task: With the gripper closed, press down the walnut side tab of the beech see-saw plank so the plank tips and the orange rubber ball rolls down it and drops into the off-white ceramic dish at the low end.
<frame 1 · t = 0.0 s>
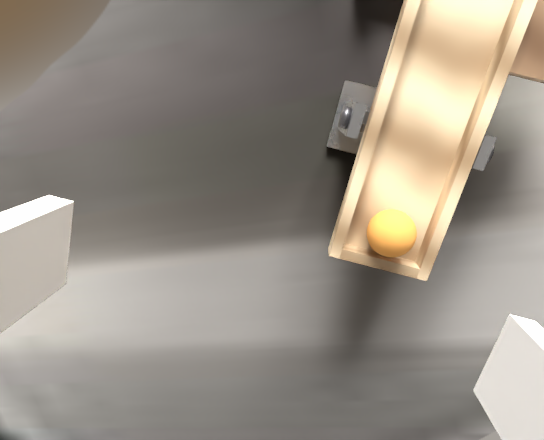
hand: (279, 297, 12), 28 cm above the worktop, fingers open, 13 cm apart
ball: (391, 233, 29), point 10 cm above the worktop, touching lever
stand: (393, 128, 37), on the worktop
lever: (463, 144, 28), point 9 cm above the worktop, hinge at 0.0°, touching ball
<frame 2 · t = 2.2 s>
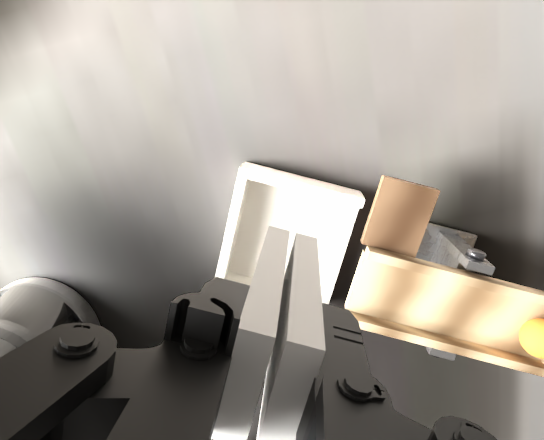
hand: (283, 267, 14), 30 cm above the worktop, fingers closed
dish: (286, 234, 46), on the worktop
ball: (541, 338, 36), point 10 cm above the worktop, touching lever
stand: (431, 272, 46), on the worktop
lever: (469, 279, 36), point 9 cm above the worktop, hinge at 0.0°, touching ball
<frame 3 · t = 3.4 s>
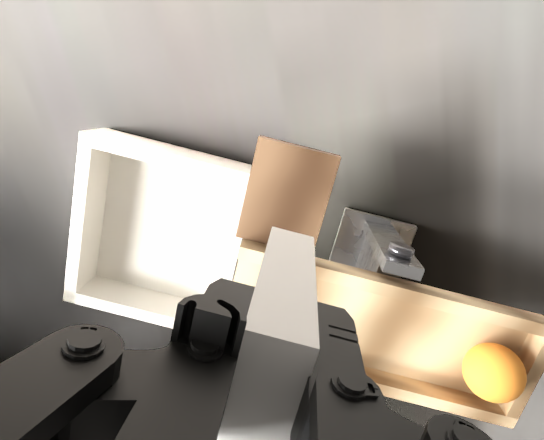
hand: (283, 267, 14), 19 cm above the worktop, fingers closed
dish: (169, 226, 35), on the worktop
ball: (493, 372, 25), point 10 cm above the worktop, touching lever
stand: (360, 275, 34), on the worktop
lever: (390, 286, 25), point 9 cm above the worktop, hinge at 0.0°, touching ball
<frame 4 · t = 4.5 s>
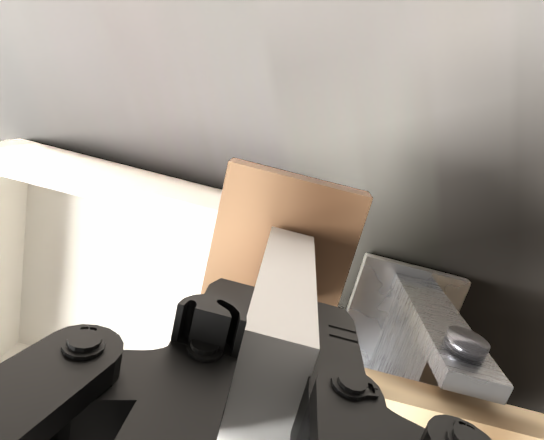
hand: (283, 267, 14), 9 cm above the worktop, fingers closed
dish: (116, 277, 25), on the worktop
stand: (385, 345, 24), on the worktop
lever: (451, 408, 15), point 9 cm above the worktop, hinge at 0.0°, touching ball, gripper
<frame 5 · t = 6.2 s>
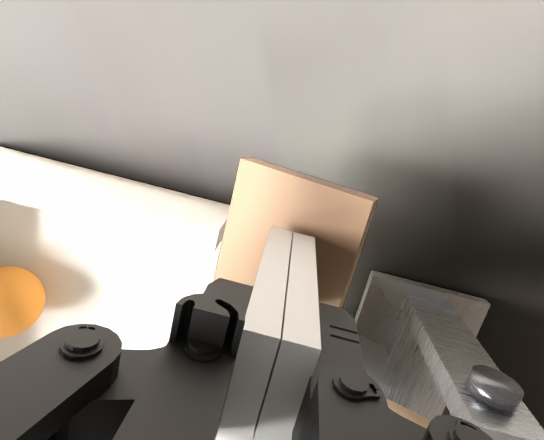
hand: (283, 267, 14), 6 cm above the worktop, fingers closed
dish: (94, 296, 22), on the worktop
ball: (5, 301, 20), point 2 cm above the worktop, tilted 70°, touching dish
stand: (393, 372, 22), on the worktop
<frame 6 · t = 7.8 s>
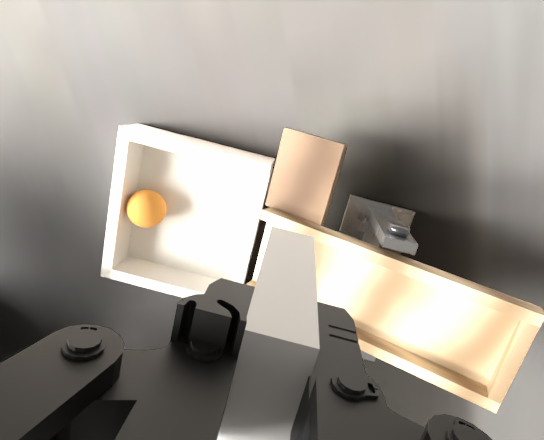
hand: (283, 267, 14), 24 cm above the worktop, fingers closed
dish: (193, 211, 39), on the worktop
ball: (146, 208, 37), point 2 cm above the worktop, tilted 58°, touching dish
stand: (363, 256, 38), on the worktop
lever: (383, 258, 29), point 9 cm above the worktop, hinge at 20.5°
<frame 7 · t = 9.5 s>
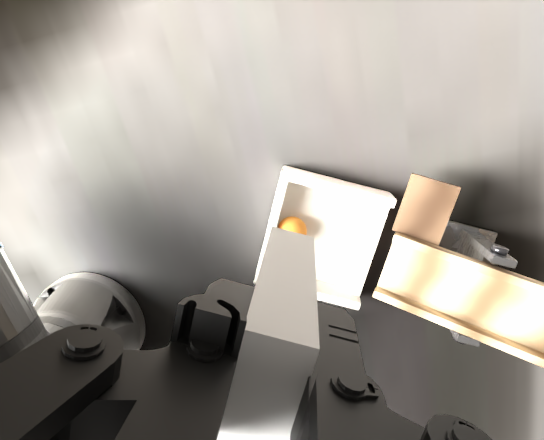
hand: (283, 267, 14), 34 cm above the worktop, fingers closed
dish: (320, 232, 50), on the worktop
ball: (292, 231, 47), point 2 cm above the worktop, tilted 64°, touching dish
stand: (454, 267, 49), on the worktop
lever: (489, 270, 40), point 9 cm above the worktop, hinge at 20.5°
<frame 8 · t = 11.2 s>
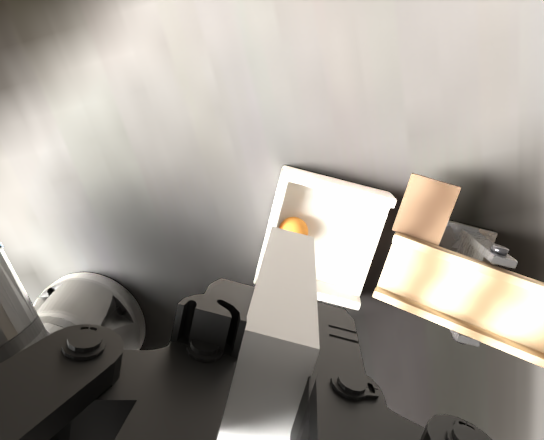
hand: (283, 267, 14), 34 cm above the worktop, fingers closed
dish: (320, 232, 50), on the worktop
ball: (293, 231, 47), point 2 cm above the worktop, tilted 69°, touching dish
stand: (454, 267, 49), on the worktop
lever: (489, 270, 40), point 9 cm above the worktop, hinge at 20.5°
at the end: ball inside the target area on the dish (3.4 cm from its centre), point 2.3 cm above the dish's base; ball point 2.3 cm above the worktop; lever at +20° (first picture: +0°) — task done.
